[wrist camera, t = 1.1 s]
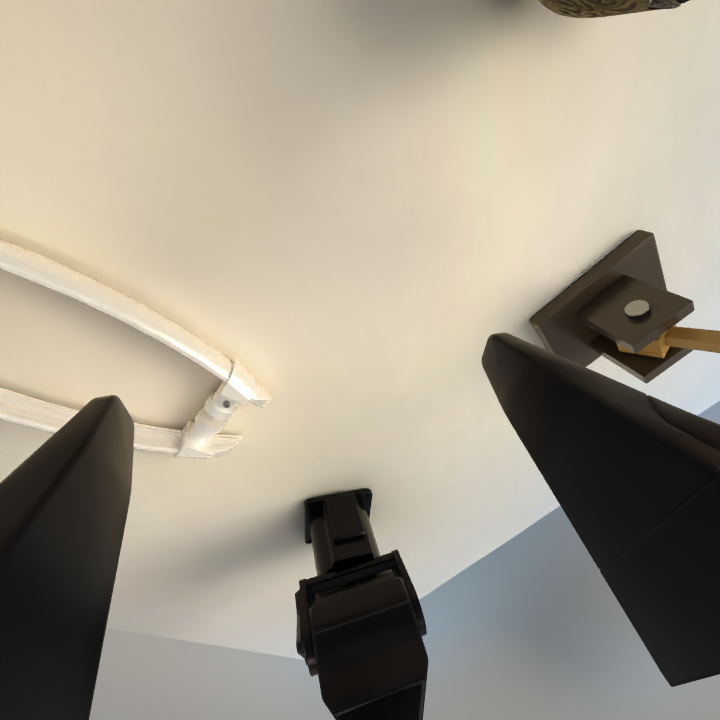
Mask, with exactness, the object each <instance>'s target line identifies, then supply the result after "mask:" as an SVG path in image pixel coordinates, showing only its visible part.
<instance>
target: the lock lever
mask: <svg viewBox="0 0 720 720" xmlns="http://www.w3.org/2000/svg"><path fill="white" fill-rule="evenodd" d="M616 344H617V346H618V349H619V351H622V352H628V353H633V352H632V351H630V350H628V349H626V348H625V347H623V346H621V345H619V344H618V343H616ZM670 346H671V347H679V348H686V349H694V350H701V351H709V352H716V353H720V331H714V330H704V329H694V328H684V327H676V325H674V326H673V327H671V328H670V329H669V330H667V331H666V332H664V333H663V334H662V335H660V336H659V337H658V338H656V339H655V340H654V341H652V342H651V343H650V344H648V345H647V346H646V347H644V348H643V349H642V350H640V351H639V352H638V353H636V354H640V355H647V356H653V357H659V358H664V357H665V355H666V353H667V351H668V349H669V347H670ZM634 354H635V353H634Z"/></svg>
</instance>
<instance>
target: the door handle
mask: <svg viewBox="0 0 720 720" xmlns="http://www.w3.org/2000/svg"><path fill="white" fill-rule="evenodd" d="M0 269H2V270H5V271H7V272H10V273H13V274H15V275H18V276H21V277H24V278H26V279H28V280H31V281H33V282H36V283H38V284H40V285H43V286H45V287H48V288H50V289H52V290H55V291H57V292H60V293H62V294H64V295H67V296H69V297H72V298H74V299H76V300H78V301H80V302H82V303H85V304H87V305H89V306H91V307H93V308H95V309H97V310H99V311H102V312H104V313H106V314H108V315H110V316H112V317H114V318H116V319H118V320H121V321H123V322H125V323H126V324H128V325H130V326H132V327H134V328H136V329H138V330H140V331H141V332H143V333H145V334H147V335H149V336H151V337H153V338H155V339H156V340H158V341H160V342H162V343H164V344H166V345H167V346H169V347H171V348H172V349H174V350H176V351H177V352H179V353H181V354H182V355H184V356H185V357H187V358H189V359H190V360H192V361H194V362H195V363H197V364H199V365H200V366H202V367H203V368H205V369H206V370H208V371H209V372H211V373H212V374H213V375H215V376H216V377H218V378H219V379H221V380H222V382H221V386H220V387H219V388H218V390H217V391H216V393H213V394H212V395H211V396H210V397H209V398H208V399H207V401H206V402H205V404H204V407H203V408H201V409H200V410H199V412H198V414H197V416H196V417H195V422H194V421H191V420H189V421H188V422H187V424H186V425H185V426H184V428H183V429H182V430H175V429H168V428H162V427H155V426H149V425H144V424H138V423H134V448H135V449H141V450H149V451H157V452H166V453H174V457H184V458H202V459H206V458H207V457H208V456H210V457H221V456H225V455H227V454H229V453H230V452H231V451H232V450H233V449H234V448H235V447H236V446H237V444H238V443H239V442H240V440H241V438H242V437H243V436H241V435H221V434H218V433H219V432H220V431H221V430H222V429H223V428H224V427H225V425H226V424H227V420H229V419H231V417H232V416H233V414H234V413H235V411H236V409H237V406H236V405H237V404H238V403H239V402H240V403H243V404H246V405H247V403H248V402H249V401H250V402H251V403H253V404H254V405H255V406H261V407H262V408H263V407H264V406H266V405H268V404H269V402H270V401H271V400H272V398H273V397H272V396H271V395H270V394H269V393H268V392H267V391H266V390H265V389H264V388H263V387H262V386H261V385H259V384H258V383H257V382H256V377H255V376H254V375H253V374H252V373H251V372H250V371H249V370H247V369H246V368H245V367H244V366H243V365H242V364H241V363H239V362H238V361H237V360H236V359H235V358H232V359H231V360H228V359H227V358H226V357H224V356H223V355H222V354H220V353H219V352H218V351H216V350H215V349H213V348H212V347H211V346H209V345H208V344H206V343H205V342H203V341H202V340H200V339H199V338H197V337H195V336H194V335H192V334H191V333H189V332H188V331H186V330H185V329H183V328H182V327H180V326H179V325H177V324H175V323H174V322H172V321H170V320H168V319H167V318H165V317H163V316H162V315H160V314H158V313H156V312H155V311H153V310H151V309H149V308H148V307H146V306H144V305H142V304H141V303H139V302H137V301H135V300H133V299H131V298H129V297H127V296H125V295H124V294H122V293H120V292H118V291H116V290H114V289H112V288H110V287H108V286H106V285H104V284H102V283H100V282H98V281H96V280H94V279H92V278H90V277H88V276H86V275H83V274H81V273H79V272H77V271H75V270H72V269H70V268H68V267H66V266H64V265H61V264H59V263H57V262H55V261H52V260H50V259H48V258H46V257H44V256H41V255H39V254H36V253H34V252H31V251H29V250H26V249H24V248H21V247H19V246H16V245H14V244H11V243H9V242H6V241H3V240H1V239H0ZM78 412H79V410H75V409H71V408H68V407H64V406H60V405H57V404H53V403H50V402H46V401H43V400H39V399H35V398H32V397H29V396H26V395H23V394H20V393H16V392H13V391H10V390H7V389H4V388H1V387H0V419H1V420H5V421H8V422H12V423H16V424H20V425H24V426H28V427H32V428H36V429H40V430H44V431H48V432H52V433H56V432H57V431H58V430H59V429H60V428H61V427H63V426H64V425H65V424H66V423H67V422H68V421H69V420H70V419H71V418H72V417H74V416H75V415H76V414H77V413H78Z"/></svg>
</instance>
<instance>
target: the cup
mask: <svg viewBox="0 0 720 720" xmlns="http://www.w3.org/2000/svg"><path fill="white" fill-rule="evenodd" d="M539 1H540V2H541V3H542V4H543V5H544V6H545V7H546V8H548V9H550V10H551V11H553V12H555V13H557V14H560V15H563V16H568V17H574V18H595V17H606V16H614V15H621V14H629V13H636V12H643V11H651V10H658V9H673V8H677V7H679V6H680V4H682V3H685V2H687V1H689V0H539Z"/></svg>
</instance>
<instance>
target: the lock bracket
mask: <svg viewBox="0 0 720 720" xmlns="http://www.w3.org/2000/svg"><path fill="white" fill-rule="evenodd" d="M693 311H694V305H693V301H692V300H689V299H687V298H684V297H682V296H679V295H676V294H674V293H671V292H669V291H667V289H666V285H665V280H664V276H663V272H662V267H661V263H660V259H659V255H658V250H657V246H656V242H655V238H654V234H653V233H650V232H646V231H643V230H638V231H637V232H636V233H635V234H633V235H632V236H631V237H630V238H629V239H627V240H626V241H625V242H624V243H622V244H621V245H620V246H619V247H618V248H616V249H615V250H614V251H613V252H611V253H610V254H609V255H608V256H607V257H605V258H604V259H603V260H602V261H600V262H599V263H598V264H597V265H596V266H594V267H593V268H592V269H591V270H590V271H588V272H587V273H586V274H585V275H583V276H582V277H581V278H580V279H579V280H577V281H576V282H575V283H574V284H572V285H571V286H570V287H569V288H568V289H566V290H565V291H564V292H563V293H561V294H560V295H559V296H558V297H557V298H555V299H554V300H553V301H552V302H550V303H549V304H548V305H547V306H546V307H544V308H543V309H542V310H541V311H539V312H538V313H537V314H536V315H535V316H533V317H532V318H531V319H530V322H531V323H532V325H533V327H534V328H535V330H536V332H537V333H538V335H539V337H540V338H541V340H542V342H543V343H544V345H545V346H546V348H547V350H548V351H549V352H551V353H554V354H556V355H558V356H560V357H563V358H565V359H567V360H569V361H572V362H574V363H576V364H579V365H581V366H583V367H587V366H588V365H589V364H591V363H592V362H593V361H595V360H596V359H597V358H598V357H600V356H601V355H602V356H604V357H605V358H607V359H608V360H610V361H612V362H613V363H615V364H616V365H618V366H619V367H621V368H623V369H624V370H626V371H627V372H629V373H630V374H632V375H634V376H635V377H637V378H638V379H640V380H641V381H643V382H645V383H648V382H650V381H651V380H652V379H654V378H655V377H657V376H658V375H659V374H661V373H662V372H663V371H665V370H666V369H668V368H669V367H670V366H672V365H673V364H675V363H676V362H677V361H679V360H680V359H681V358H683V357H684V356H686V355H687V354H688V353H690V352H691V351H693V350H694V349H686V348H679V347H671V346H670V347H669V349H668V351H667V353H666V355H665V357H664V358H659V357H653V356H647V355H640V354H636V353H638V352H639V351H640V350H642V349H643V348H644V347H646V346H647V345H648V344H650V343H651V342H652V341H654V340H655V339H656V338H658V337H659V336H660V335H662V334H663V333H664V332H666V331H667V330H669V329H670V328H671V327H673V326H674V325H675V324H677V323H678V322H679V321H681V320H682V319H683V318H685V317H686V316H687V315H689V314H690V313H691V312H693ZM616 343H618V344H619V345H621V346H623V347H625V348H626V349H628V350H630V351H632V352H633V353H628V352H622V351H619V349H618V346H617V344H616ZM634 353H635V354H634Z"/></svg>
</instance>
